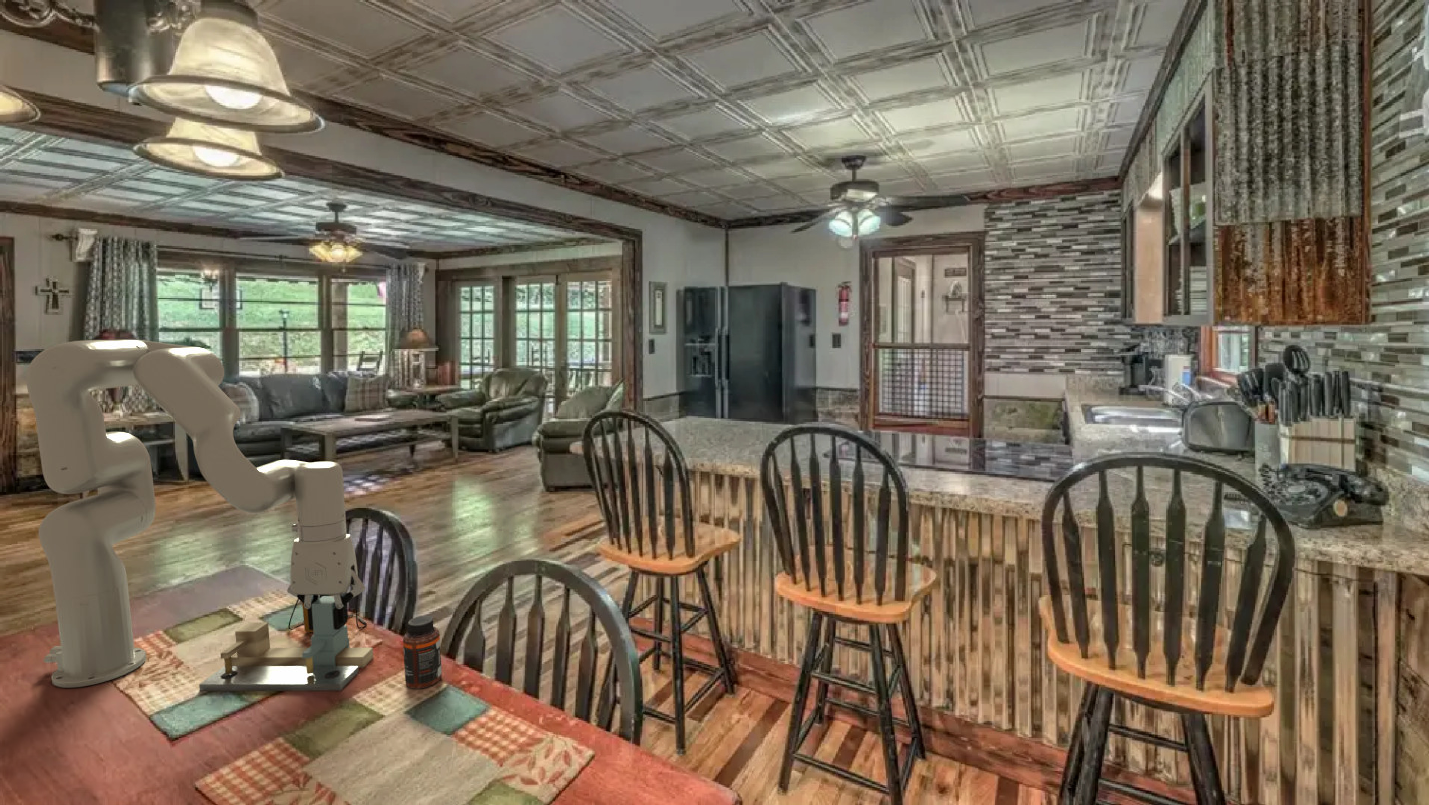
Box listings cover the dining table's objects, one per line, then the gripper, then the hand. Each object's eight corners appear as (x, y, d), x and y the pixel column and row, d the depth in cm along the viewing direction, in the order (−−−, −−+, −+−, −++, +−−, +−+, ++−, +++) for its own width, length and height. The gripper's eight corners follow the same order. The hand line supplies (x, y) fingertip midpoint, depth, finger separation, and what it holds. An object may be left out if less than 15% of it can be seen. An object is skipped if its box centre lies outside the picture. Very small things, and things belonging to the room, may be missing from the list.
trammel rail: (209, 684, 116) (205, 646, 115) (245, 657, 125) (242, 622, 124) (347, 683, 116) (345, 645, 115) (373, 657, 125) (371, 622, 124)
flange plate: (199, 691, 114) (199, 683, 113) (224, 672, 120) (224, 665, 119) (340, 690, 114) (340, 683, 114) (358, 672, 120) (358, 665, 120)
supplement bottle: (449, 677, 118) (446, 616, 117) (422, 693, 113) (419, 630, 112) (425, 669, 121) (422, 610, 120) (397, 685, 116) (394, 623, 114)
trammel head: (296, 681, 116) (291, 617, 115) (328, 652, 126) (324, 594, 124) (319, 681, 116) (314, 617, 115) (349, 652, 126) (346, 594, 125)
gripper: (262, 536, 116) (270, 636, 119) (357, 537, 117) (363, 635, 119) (289, 524, 124) (296, 617, 126) (378, 524, 124) (384, 617, 126)
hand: (328, 625), depth 122 cm, fingers closed on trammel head, 3 cm apart
